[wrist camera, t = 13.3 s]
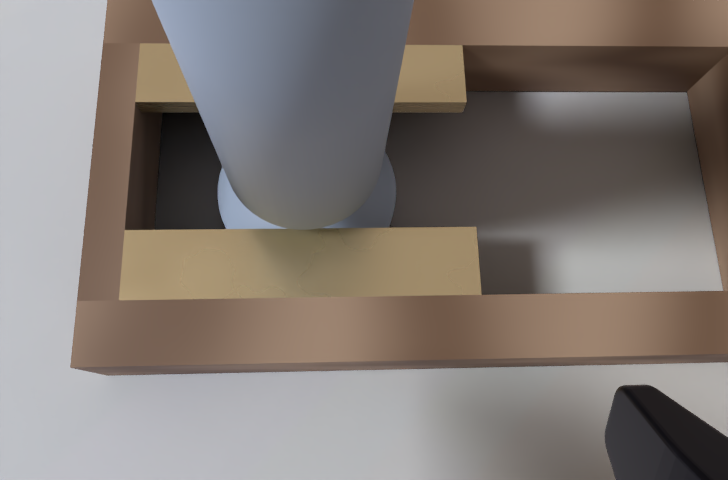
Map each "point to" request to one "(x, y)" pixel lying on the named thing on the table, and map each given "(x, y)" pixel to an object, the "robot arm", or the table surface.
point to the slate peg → (295, 105)
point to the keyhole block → (389, 245)
